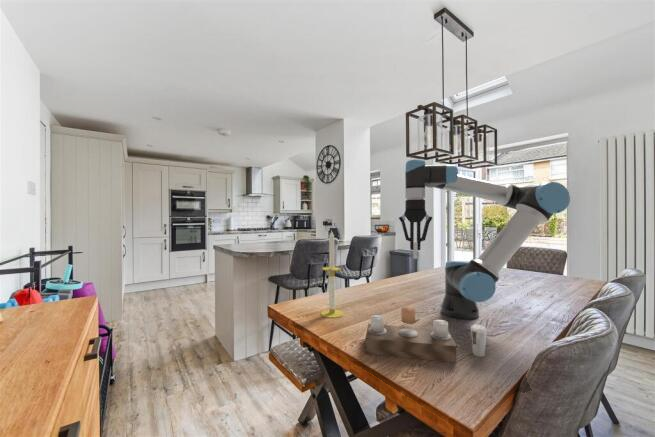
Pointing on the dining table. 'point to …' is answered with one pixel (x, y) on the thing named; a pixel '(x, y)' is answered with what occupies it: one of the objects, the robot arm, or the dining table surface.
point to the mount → (410, 343)
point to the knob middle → (408, 315)
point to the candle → (331, 282)
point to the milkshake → (478, 339)
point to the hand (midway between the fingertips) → (415, 258)
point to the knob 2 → (440, 328)
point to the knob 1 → (377, 323)
